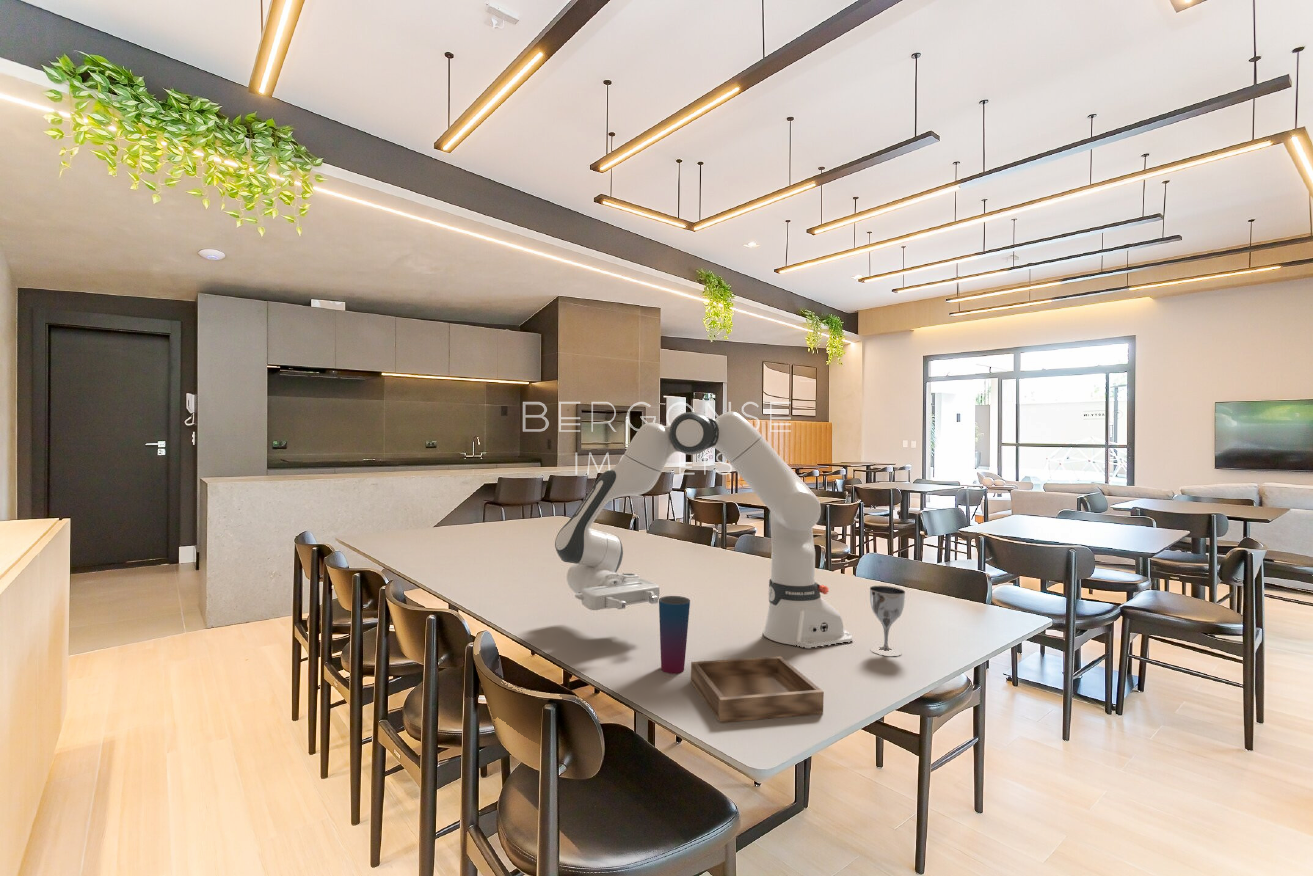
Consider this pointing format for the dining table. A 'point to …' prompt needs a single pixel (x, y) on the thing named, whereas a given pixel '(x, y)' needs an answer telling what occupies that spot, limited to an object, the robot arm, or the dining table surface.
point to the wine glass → (887, 607)
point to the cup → (673, 632)
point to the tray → (755, 689)
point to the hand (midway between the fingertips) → (639, 602)
